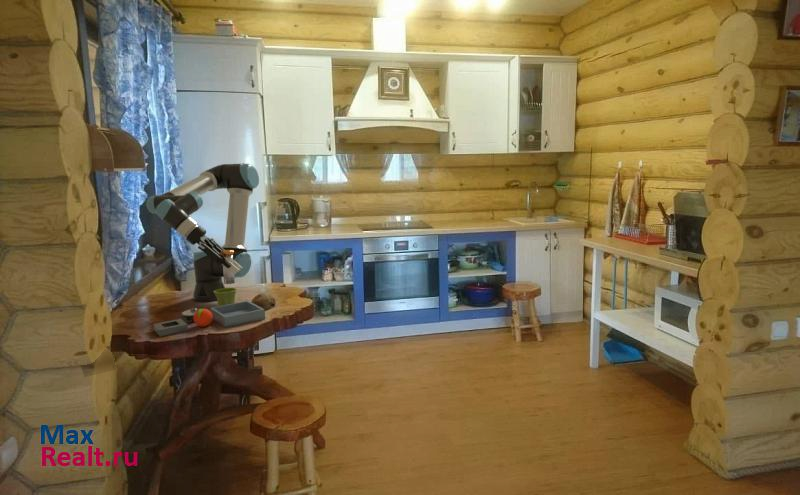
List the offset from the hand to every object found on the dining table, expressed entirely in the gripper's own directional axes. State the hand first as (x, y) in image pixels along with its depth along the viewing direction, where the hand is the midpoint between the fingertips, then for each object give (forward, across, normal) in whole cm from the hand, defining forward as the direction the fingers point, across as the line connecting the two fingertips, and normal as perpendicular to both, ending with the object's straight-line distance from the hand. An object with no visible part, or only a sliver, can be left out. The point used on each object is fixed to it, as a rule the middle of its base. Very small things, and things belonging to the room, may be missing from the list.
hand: (238, 271), depth 194 cm
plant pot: (+7, -15, -21) cm, 27 cm away
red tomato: (+5, +8, -23) cm, 25 cm away
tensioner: (-1, +5, -29) cm, 30 cm away
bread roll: (+18, -16, -11) cm, 26 cm away
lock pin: (+1, 0, -6) cm, 6 cm away
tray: (+13, -1, -15) cm, 20 cm away
